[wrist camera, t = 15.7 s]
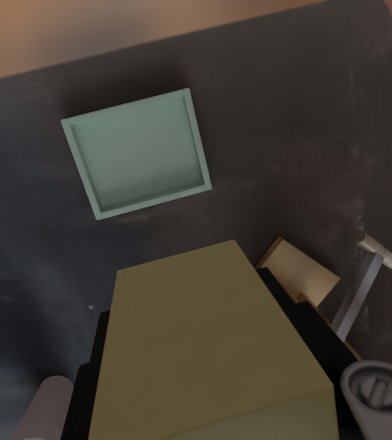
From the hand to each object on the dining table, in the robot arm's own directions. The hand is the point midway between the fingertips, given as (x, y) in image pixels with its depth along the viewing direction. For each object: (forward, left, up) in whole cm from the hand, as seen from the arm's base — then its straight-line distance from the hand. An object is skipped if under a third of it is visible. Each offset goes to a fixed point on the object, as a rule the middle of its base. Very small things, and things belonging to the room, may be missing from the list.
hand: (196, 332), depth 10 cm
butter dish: (-1, -3, -24) cm, 24 cm away
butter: (0, 0, 0) cm, 0 cm away
